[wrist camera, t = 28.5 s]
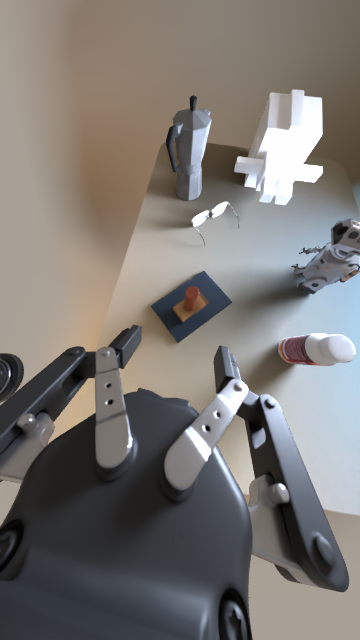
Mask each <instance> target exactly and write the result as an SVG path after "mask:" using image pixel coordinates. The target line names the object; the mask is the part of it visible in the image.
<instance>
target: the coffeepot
mask: <svg viewBox="0 0 360 640" xmlns="http://www.w3.org/2000/svg"><path fill="white" fill-rule="evenodd" d="M196 102H197V97H196V96H194V95H193V96H191V97H190V109H185V110H181V111H178V112H177V114H176V115H175V117H174V118H173V123H174V125H173V126H172V127H170V129H169V132H168V135H167V139H166V146H167V149H168V153H169V157H170V161H171V165H172V169H173V172H174V173H175V172H177V176H176V185H175V192H176V194H177V196H178V197H179V198H181V199H183V200H194V199H196V198H198V197H199V195H200V192H201V190H202V187H201V160H202V158H203V155H204V151H205V146H206V142H207V137H208V133H209V128H210V124H211V118H210V117H209V114H210V112H209V111H208V110H207V109H199V110H197V109H195V107H196ZM174 138H175V142H176V151H177V157H178V159H179V165H178V166H177V167H176V159H175V156H174V148H173V140H174Z"/></svg>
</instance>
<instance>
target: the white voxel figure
mask: <svg viewBox="0 0 360 640" xmlns="http://www.w3.org/2000/svg"><path fill="white" fill-rule="evenodd" d="M321 136H322V98H317V97H308V96H304V91H303V90H292V92H291V93H290V94H280V93H270V96H269V98H268V101H267V104H266V107H265V110H264V112H263V115H262V118H261V121H260V124H259V127H258V130H257V133H256V135H255V138H254V141H253V143H252V146H251V149H250V152H249V155H248V157H240V156H238V158H237V161H236V164H235V169H234V172H239V173H246V176H245V185H244V186H246V187H254V188H256V189H255V191H260V198H259V202H265V203H270V202H271V200H272V198H273V197H274V195H275V204H280V205H286V204H287V202H288V201H289V200H290V198H291V197H292V184H293V182H294V181H295V180H300V181H308V182H315V181H316V180H317V179H318V178H319V177H320V175H321V174H322V167H319V166H311V165H304V164H303V163H304V161H305V160H306V158H307V157H308V155H309V154H310V152H311V151H312V149H313V147H314V146H315V145H316V143H317V142H318V140H319V139H320V137H321ZM275 193H276V194H275Z"/></svg>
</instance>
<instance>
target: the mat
mask: <svg viewBox="0 0 360 640" xmlns="http://www.w3.org/2000/svg"><path fill="white" fill-rule="evenodd" d="M190 286H195V287H197V288H198V289H199V296H200V298H201V299H202V300H203V301H204V302H205V304H206V306H205V307H204V308H203V309H202V310H201V311H199V312H198V313H197V314H195V315H194V316H192V317H191V318H190V319H188V320H187V321H185V322H184V323H182V322H181V321H180V319H179V318H178V317H177V316H176V314H175V313H174V311H173V307H175V306H176V305H178V304H179V303H181V302H182V301H184V300H185V293H186V289H187V288H188V287H190ZM231 303H232V301H231V300H230V299H229V298H228V297H227V296H226V295H225V293H224V292H223V291H222V290H221V289H220V288H219V287H218V286H217V285H216V283H215V282H214V281H213V280H212V279H211V278H210V277H209V276H208V275H207V274H206V272H205V271H203V272H201V273H200V274H198V275H197V276H195V277H194V278H192V279H191V280H189V281H188V282H186V283H185V284H183V285H182V286H180V287H179V288H177V289H176V290H174V291H173V292H171V293H170V294H168V295H167V296H165V297H164V298H162V299H161V300H159V301H158V302H156V303H155V304H153V305H152V306H151V307H152V308H153V309H154V311H155V312H156V313H157V315H158V316H159V318H160V319H161V320H162V322H163V323H164V324H165V326H166V327H167V328H168V330H169V331H170V333H171V334H172V335H173V337H174V338H175V339H176V341H177V342H178V343H179V342H180V341H181V340H183V339H184V338H185V337H187V336H188V335H189V334H191V333H192V332H193V331H195V330H196V329H197V328H199V327H200V326H201V325H203V324H204V323H205V322H207V321H208V320H209V319H211V318H212V317H213V316H215V315H216V314H217V313H219V312H220V311H221V310H223V309H224V308H225V307H227V306H228V305H229V304H231Z"/></svg>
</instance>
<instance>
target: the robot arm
mask: <svg viewBox="0 0 360 640" xmlns="http://www.w3.org/2000/svg"><path fill="white" fill-rule="evenodd" d="M141 333H142V327H141V326H138V325H133V326H132V327H131V328H130V329H129V328H127V329H125V330H123V331H122V332H121V333H120V334H119V335H118V336H117V337H116V338H115V339H114V340H113V342H112V343H111V344H110V345H109V346H108V347H103V348H101V349H99V350H98V351H97V352H85V349H84V348H83V347H79V346H78V347H72V348H69V349H67V350H66V351H65V352H64V353H62V354H61V355H60V356H59V357H58V358H56V359H55V360H54V361H53V362H52V363H50V364H49V365H48V366H47V367H46V368H44V369H43V370H42V371H41V372H40V373H38V374H37V375H36V376H35V377H34V378H33V379H31V380H30V381H29V382H28V383H27V384H25V385H24V386H23V387H22V388H21V389H19V390H18V391H17V392H16V393H15V394H13V395H12V396H11V397H10V398H9V399H7V400H6V401H5V402H4V403H3V404H2V405H0V482H1V481H3V480H5V481H10V482H15V483H21V486H20V489H19V492H18V494H17V496H16V499H15V501H14V503H13V505H12V507H11V509H10V511H9V513H8V515H7V516H6V518H5V520H4V522H3V523H2V525H1V526H0V640H253V639H252V632H251V625H250V618H249V604H248V583H249V567H250V560H251V554H252V555H255V556H257V557H259V558H262V559H264V560H266V561H269V562H271V563H273V564H274V565H275V567H276V568H277V570H278V571H279V572H280V574H281V575H282V576H283V577H284V578H286V579H287V580H289V581H292V582H297V583H301V584H306V585H311V586H315V587H320V588H324V589H329V590H334V591H338V592H345V591H346V590H347V589H348V586H349V576H348V571H347V568H346V564H345V561H344V559H343V556H342V554H341V552H340V550H339V547H338V544H337V542H336V540H335V537H334V535H333V532H332V530H331V528H330V525H329V523H328V520H327V518H326V516H325V513H324V511H323V508H322V506H321V504H320V501H319V499H318V496H317V494H316V492H315V489H314V487H313V484H312V482H311V480H310V477H309V475H308V472H307V470H306V468H305V465H304V463H303V460H302V458H301V456H300V453H299V451H298V448H297V446H296V444H295V441H294V439H293V436H292V434H291V432H290V429H289V427H288V424H287V422H286V419H285V417H284V415H283V412H282V410H281V407H280V405H279V404H278V402H277V401H276V400H275V399H274V398H273V397H272V396H270V395H268V394H261V395H260V396H258V395H257V394H255V393H253V392H251V391H249V390H248V387H247V386H246V384H245V383H244V382H243V381H241V377H240V373H239V370H238V367H237V362H236V359H235V357H234V356H233V354H231V353H229V350H228V347H224V346H219V348H218V350H217V352H216V355H215V357H214V372H215V384H216V393H217V395H216V397H215V398H214V399H213V400H212V401H211V402H210V404H209V405H208V406H207V407H206V408H205V409H204V410H203V412H202V413H201V414H199V413H198V412H197V411H196V410H195V409H194V408H192V407H191V406H190V401H187V400H184V399H180V398H163V397H161V396H159V395H157V394H155V393H154V392H152V391H149V390H145V389H142V388H139V389H138V391H137V392H131V393H128V394H125V395H123V390H122V384H121V379H120V373H119V368H121V369H124V367H125V366H126V364H127V363H128V361H129V359H130V358H131V356H132V355H133V353H134V352H135V350H136V349H137V347H138V346H139V344H140V342H141ZM12 376H13V369H12V366H11V364H10V363H9V362H8V361H7V360H5V359H0V395H1V394H2V393H3V392H4V391H5V390H6V389H7V388H8V386H9V384H10V382H11V380H12ZM88 378H95V398H96V413H94V414H93V415H91V416H90V417H88V418H87V419H85V420H84V421H82V422H80V423H79V424H77V425H76V426H74V427H73V428H71V429H70V430H68V431H67V432H65V433H63V434H62V435H60V436H59V437H57V438H56V439H54V440H53V441H52V442H50V443H49V444H48V441H49V439H50V437H51V435H52V433H53V432H54V428H55V426H54V423H53V422H54V421H55V420H56V418H57V417H58V416H59V415H60V413H61V412H62V411H63V410H64V408H65V407H66V406H67V405H68V403H69V402H70V400H71V399H72V398H73V397H74V396H75V394H76V393H77V392H78V391H79V389H80V388H81V386H82V385H83V384H84V383H85V382H86V380H87V379H88ZM235 414H236V415H238V416H240V417H241V418H243V419H244V420H245V425H246V431H247V436H248V442H249V447H250V453H251V458H252V464H253V470H254V475H255V480H253V481H252V482H251V484H250V487H249V495H250V498H249V503H248V506H247V503H246V500H245V498H244V495H243V493H242V491H241V489H240V487H239V486H238V484H237V482H236V480H235V478H234V476H233V474H232V473H231V471H230V469H229V467H228V465H227V463H226V461H225V460H224V458H223V456H222V454H221V452H220V450H219V448H218V447H217V445H216V444H217V443H218V441H219V440H220V438H221V436H222V435H223V433H224V432H225V430H226V428H227V427H228V425H229V424H230V422H231V420H232V419H233V417H234V416H235ZM47 444H48V445H47Z"/></svg>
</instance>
